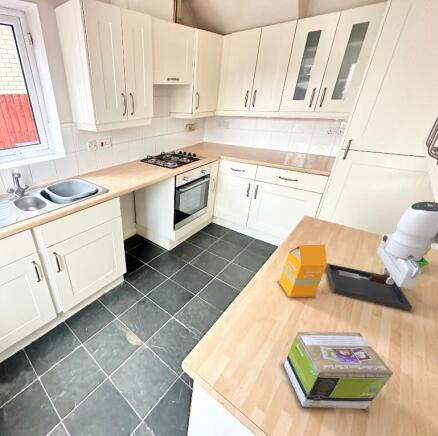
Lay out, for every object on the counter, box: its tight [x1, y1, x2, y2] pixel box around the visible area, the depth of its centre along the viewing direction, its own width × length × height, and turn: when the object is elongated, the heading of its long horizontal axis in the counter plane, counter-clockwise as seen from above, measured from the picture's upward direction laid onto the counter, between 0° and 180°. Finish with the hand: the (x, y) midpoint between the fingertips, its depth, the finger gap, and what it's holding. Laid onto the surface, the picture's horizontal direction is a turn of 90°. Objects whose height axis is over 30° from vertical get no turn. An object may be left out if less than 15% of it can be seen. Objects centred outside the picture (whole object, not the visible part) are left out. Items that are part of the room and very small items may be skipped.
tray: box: [325, 262, 413, 312], centre depth 90 cm, size 21×15×2 cm
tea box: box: [283, 331, 394, 410], centre depth 58 cm, size 15×10×15 cm, turn 88°
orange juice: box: [279, 244, 328, 298], centre depth 85 cm, size 8×9×20 cm
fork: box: [338, 270, 402, 289], centre depth 88 cm, size 18×3×3 cm, turn 66°
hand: (386, 280), depth 86 cm, fingers closed on fork
